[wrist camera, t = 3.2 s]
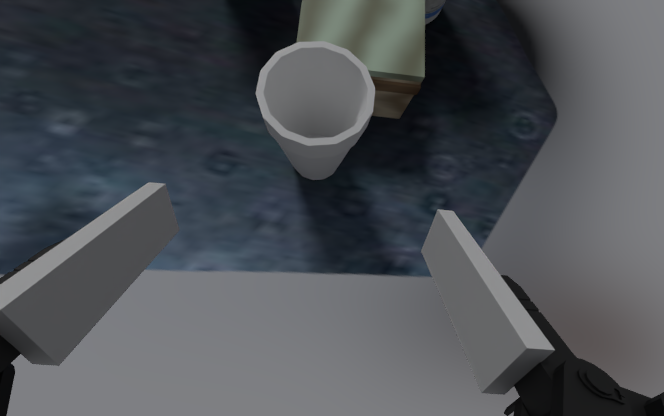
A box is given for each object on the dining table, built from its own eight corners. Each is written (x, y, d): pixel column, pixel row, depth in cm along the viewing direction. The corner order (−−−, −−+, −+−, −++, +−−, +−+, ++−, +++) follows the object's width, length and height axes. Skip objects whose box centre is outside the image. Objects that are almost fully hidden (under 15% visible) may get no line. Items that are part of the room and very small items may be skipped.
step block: (298, 109, 33) (292, 64, 25) (308, 23, 36) (307, -42, 28) (400, 121, 34) (425, 80, 26) (402, 35, 37) (425, -25, 29)
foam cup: (346, 196, 31) (369, 154, 18) (274, 187, 31) (246, 136, 18) (354, 129, 33) (378, 50, 20) (286, 119, 33) (268, 32, 20)
